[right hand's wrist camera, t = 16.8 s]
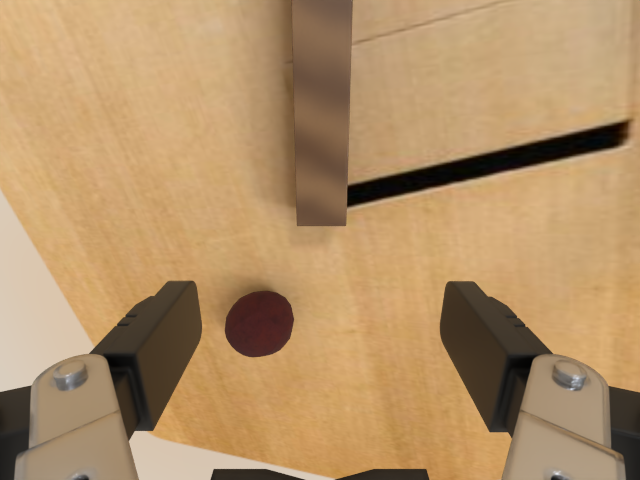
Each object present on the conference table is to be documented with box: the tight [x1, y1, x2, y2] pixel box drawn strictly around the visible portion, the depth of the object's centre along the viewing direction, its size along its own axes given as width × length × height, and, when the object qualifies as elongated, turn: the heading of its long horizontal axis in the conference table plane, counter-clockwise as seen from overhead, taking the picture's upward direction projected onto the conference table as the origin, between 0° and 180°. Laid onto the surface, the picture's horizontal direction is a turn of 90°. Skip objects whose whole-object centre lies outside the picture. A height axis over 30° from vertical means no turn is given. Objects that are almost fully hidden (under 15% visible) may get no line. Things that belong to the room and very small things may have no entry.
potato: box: [225, 291, 294, 357], centre depth 39 cm, size 7×8×7 cm
